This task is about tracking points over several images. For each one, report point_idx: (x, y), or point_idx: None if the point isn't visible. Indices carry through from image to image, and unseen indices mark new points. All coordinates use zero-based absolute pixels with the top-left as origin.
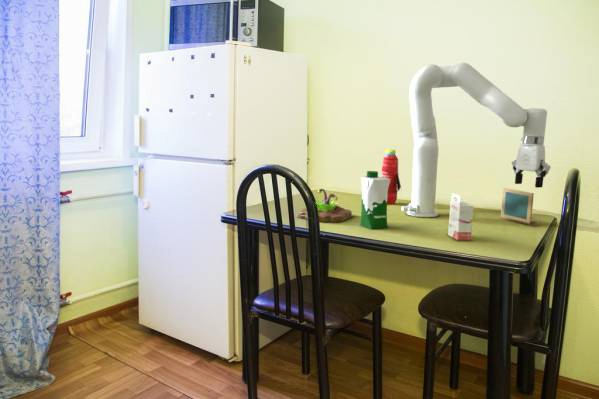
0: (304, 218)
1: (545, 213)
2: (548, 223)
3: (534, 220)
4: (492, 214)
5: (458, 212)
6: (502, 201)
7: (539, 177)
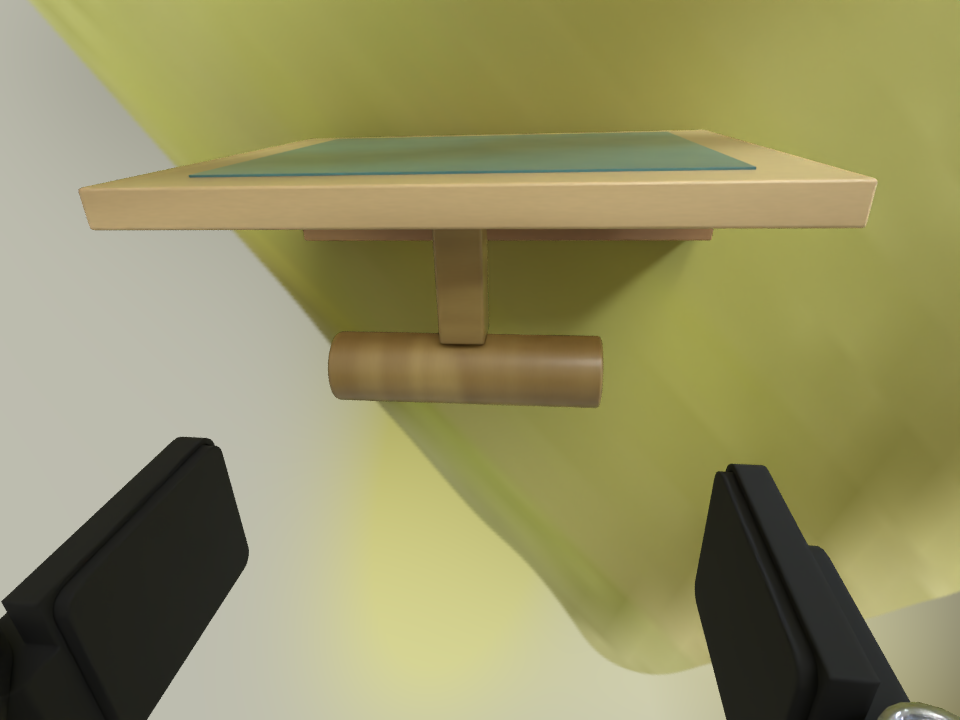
0: None
1: (672, 658)
2: None
3: (331, 230)
4: (921, 238)
5: None
6: (758, 145)
7: (10, 633)
